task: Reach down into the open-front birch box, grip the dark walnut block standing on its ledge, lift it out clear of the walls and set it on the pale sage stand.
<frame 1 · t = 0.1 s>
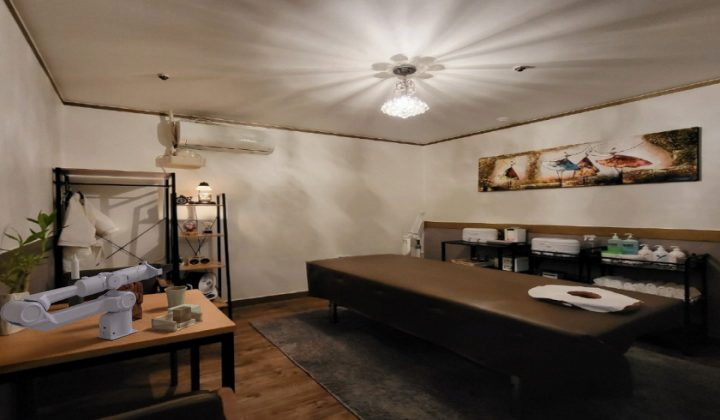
hand: (165, 266, 150), 22 cm above the table, tool horizontal, fingers open, 7 cm apart
wooden figurine: (126, 321, 150), on the table
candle: (76, 307, 172), on the table
walnut block: (182, 321, 142), point 2 cm above the table, touching birch box
flower pot: (176, 307, 169), on the table
birch box: (177, 324, 143), on the table
sage stand: (184, 314, 157), on the table
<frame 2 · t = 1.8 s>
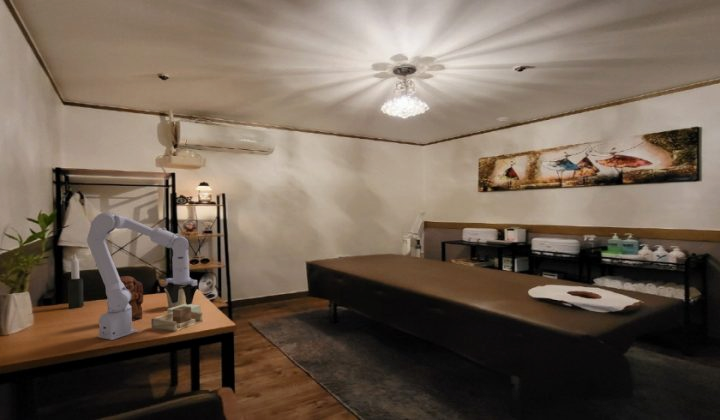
hand: (181, 303, 142), 9 cm above the table, tool pointing down, fingers open, 7 cm apart
nothing on the table moved.
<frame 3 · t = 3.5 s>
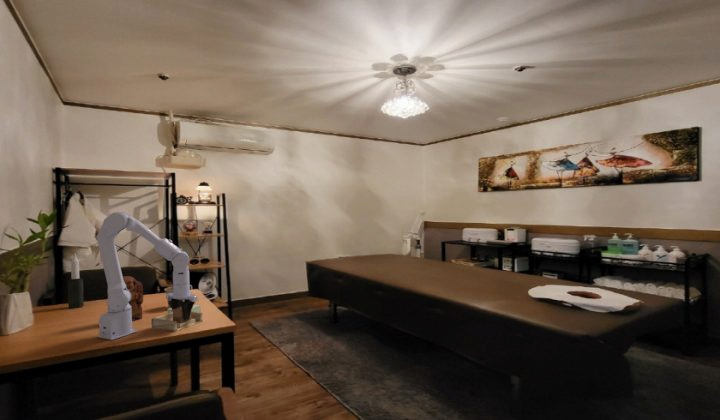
hand: (182, 318, 142), 3 cm above the table, tool pointing down, fingers closed on walnut block, 4 cm apart
walnut block: (182, 321, 142), point 2 cm above the table, touching birch box, gripper
everything else where it was.
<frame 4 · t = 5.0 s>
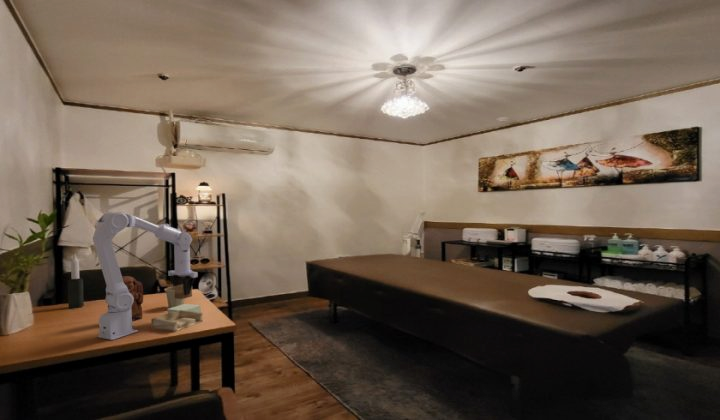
hand: (183, 294, 151), 10 cm above the table, tool pointing down, fingers closed on walnut block, 4 cm apart
walnut block: (183, 297, 151), point 9 cm above the table, touching gripper
everything else where it was.
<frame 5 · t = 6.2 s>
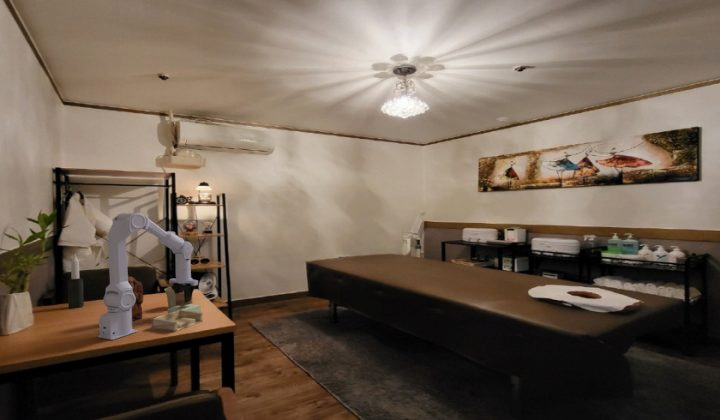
hand: (184, 301, 157), 6 cm above the table, tool pointing down, fingers closed on walnut block, 4 cm apart
walnut block: (184, 304, 157), point 4 cm above the table, touching gripper
everything else where it was.
when the fingers open (5 cm above the table, at t = 7.0 s): walnut block drops 1 cm, resting on sage stand.
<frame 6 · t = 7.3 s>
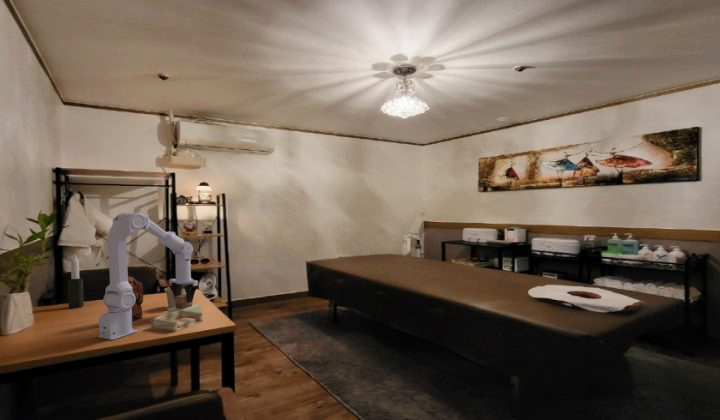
hand: (184, 301, 157), 5 cm above the table, tool pointing down, fingers open, 6 cm apart
walnut block: (184, 307, 157), point 3 cm above the table, touching sage stand
everything else where it was.
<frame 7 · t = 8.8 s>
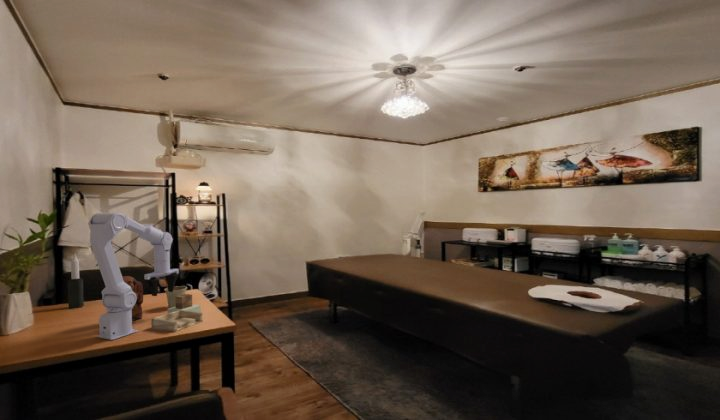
hand: (162, 293, 153), 10 cm above the table, tool pointing down, fingers open, 7 cm apart
nothing on the table moved.
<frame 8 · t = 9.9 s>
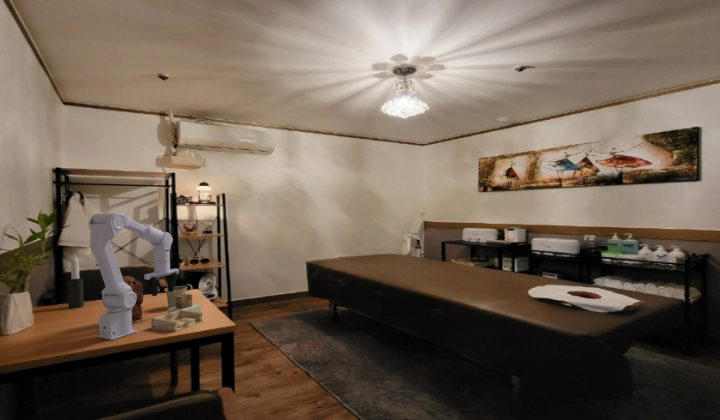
hand: (162, 293, 153), 10 cm above the table, tool pointing down, fingers open, 7 cm apart
nothing on the table moved.
at the end: walnut block inside the target area on the sage stand (0.0 cm from its centre), point 3.0 cm above the sage stand's base; walnut block tilted 0°; walnut block touching sage stand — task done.
